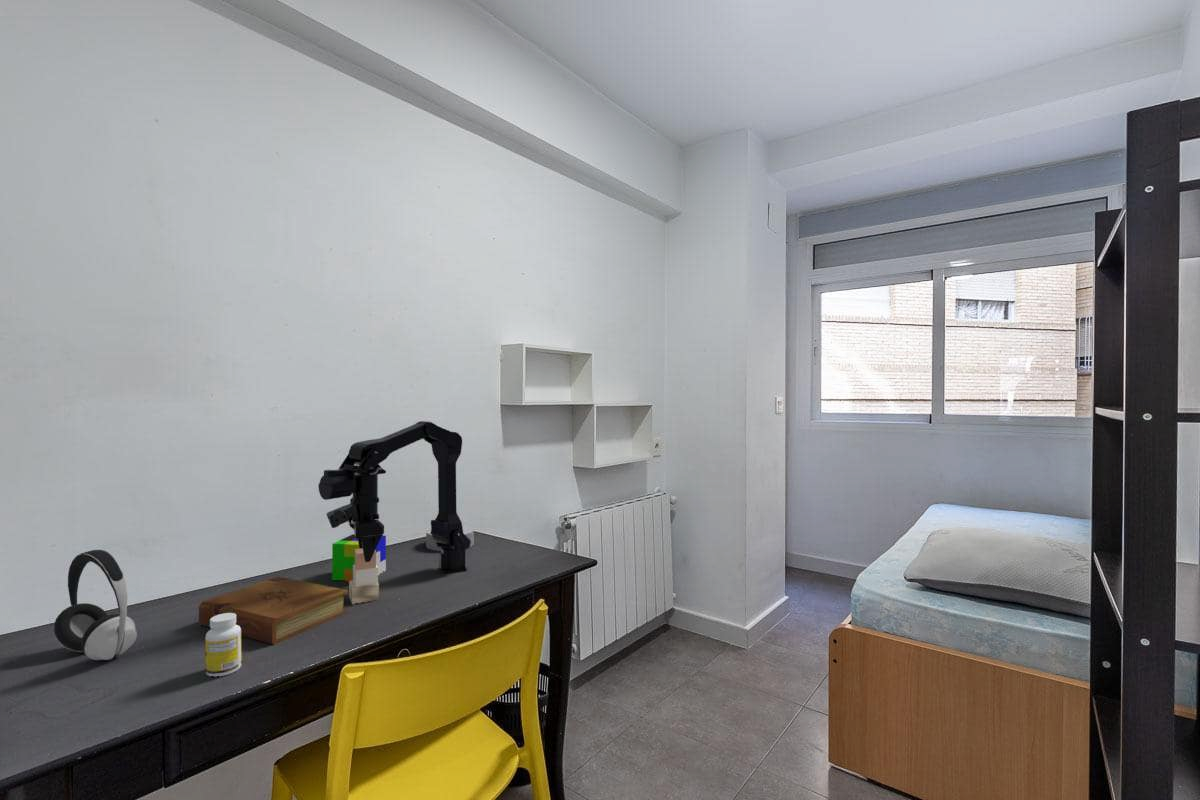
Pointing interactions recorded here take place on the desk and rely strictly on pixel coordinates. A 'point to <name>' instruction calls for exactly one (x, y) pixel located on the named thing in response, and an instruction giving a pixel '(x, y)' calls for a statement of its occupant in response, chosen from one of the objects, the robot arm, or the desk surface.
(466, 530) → the grey bowl
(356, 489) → the robot arm
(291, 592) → the diary
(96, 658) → the headphones
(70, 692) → the desk surface
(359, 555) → the cube
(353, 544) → the puzzle toy
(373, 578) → the tower top
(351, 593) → the tower base
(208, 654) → the supplement bottle
